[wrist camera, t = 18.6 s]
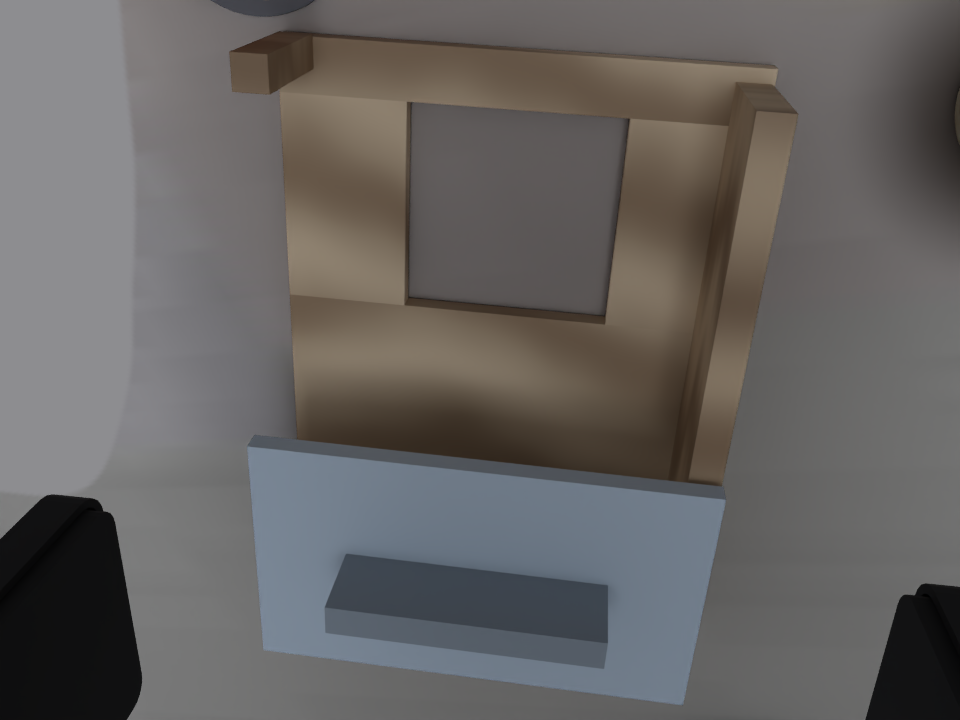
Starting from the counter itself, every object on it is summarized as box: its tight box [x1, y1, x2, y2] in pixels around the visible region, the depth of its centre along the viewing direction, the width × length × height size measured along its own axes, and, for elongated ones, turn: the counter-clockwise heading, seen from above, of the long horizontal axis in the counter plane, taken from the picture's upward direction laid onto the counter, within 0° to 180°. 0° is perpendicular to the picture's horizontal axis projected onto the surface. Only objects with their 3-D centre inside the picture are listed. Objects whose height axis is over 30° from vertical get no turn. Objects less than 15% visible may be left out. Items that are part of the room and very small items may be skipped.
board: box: [229, 31, 798, 487], centre depth 35 cm, size 25×17×6 cm
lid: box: [247, 435, 726, 705], centre depth 34 cm, size 10×17×4 cm, turn 87°
